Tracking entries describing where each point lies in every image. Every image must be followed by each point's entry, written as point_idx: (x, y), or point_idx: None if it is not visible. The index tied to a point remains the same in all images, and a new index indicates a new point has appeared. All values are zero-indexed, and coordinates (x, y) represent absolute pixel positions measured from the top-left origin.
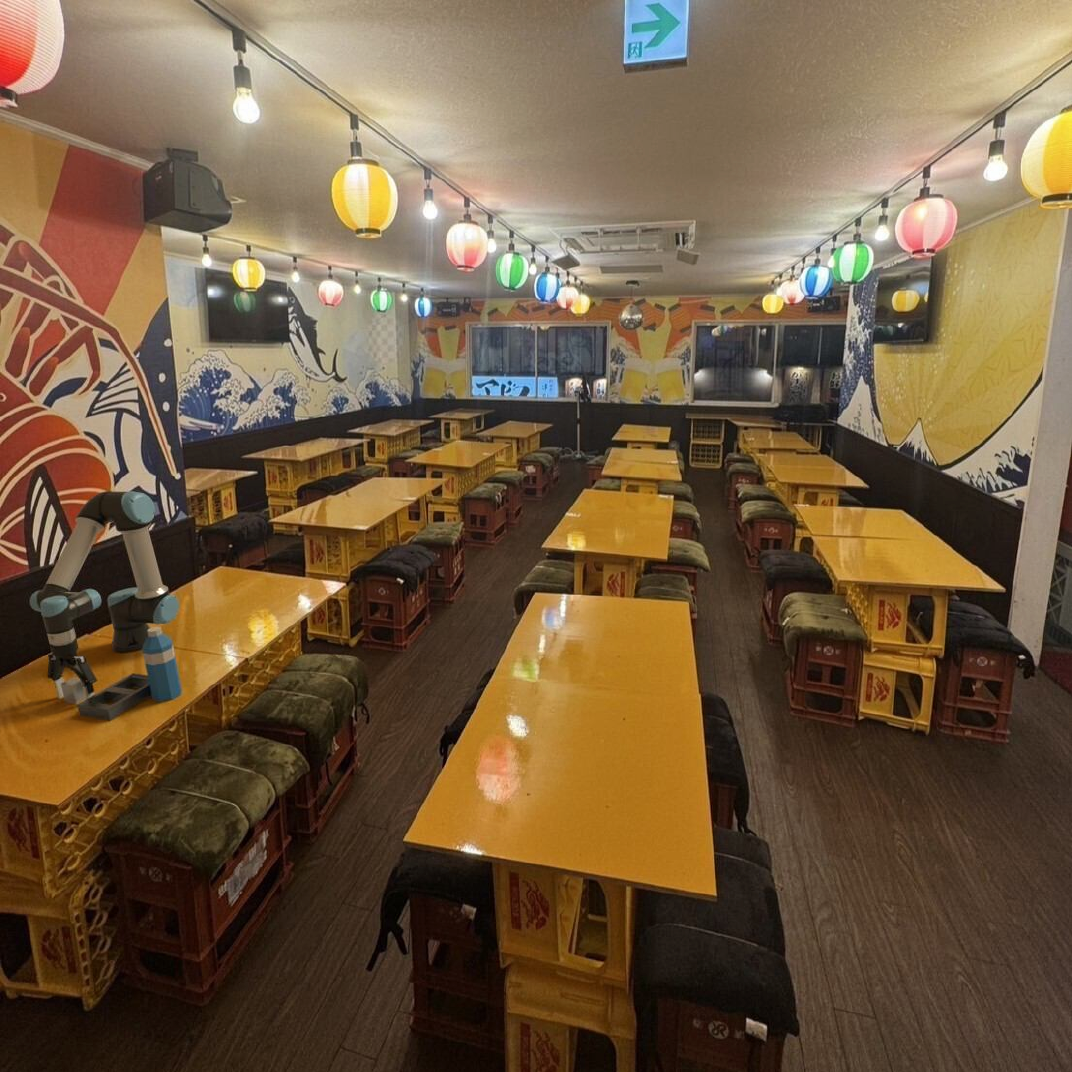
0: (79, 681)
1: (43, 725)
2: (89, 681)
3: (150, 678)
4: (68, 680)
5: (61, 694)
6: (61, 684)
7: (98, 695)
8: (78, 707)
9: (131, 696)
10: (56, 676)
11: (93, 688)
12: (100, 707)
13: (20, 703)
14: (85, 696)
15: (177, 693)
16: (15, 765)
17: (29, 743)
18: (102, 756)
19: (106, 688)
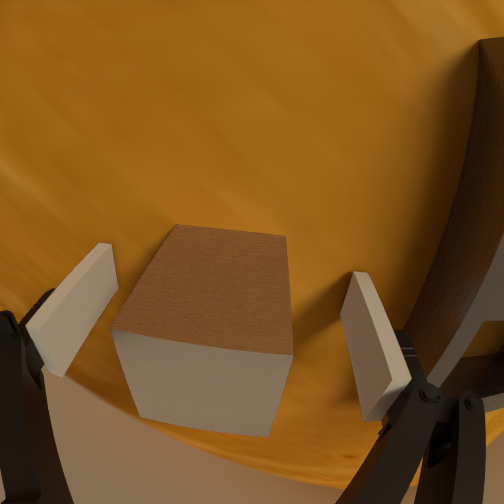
0: (280, 399)
1: (270, 432)
2: (445, 449)
3: None
4: (138, 382)
5: (107, 289)
6: (149, 415)
7: (455, 362)
8: (383, 417)
9: None
10: (45, 407)
11: (415, 353)
12: (485, 409)
13: (19, 320)
14: (350, 348)
15: None
16: (339, 485)
17: (308, 465)
18: (490, 433)
19: (479, 294)
